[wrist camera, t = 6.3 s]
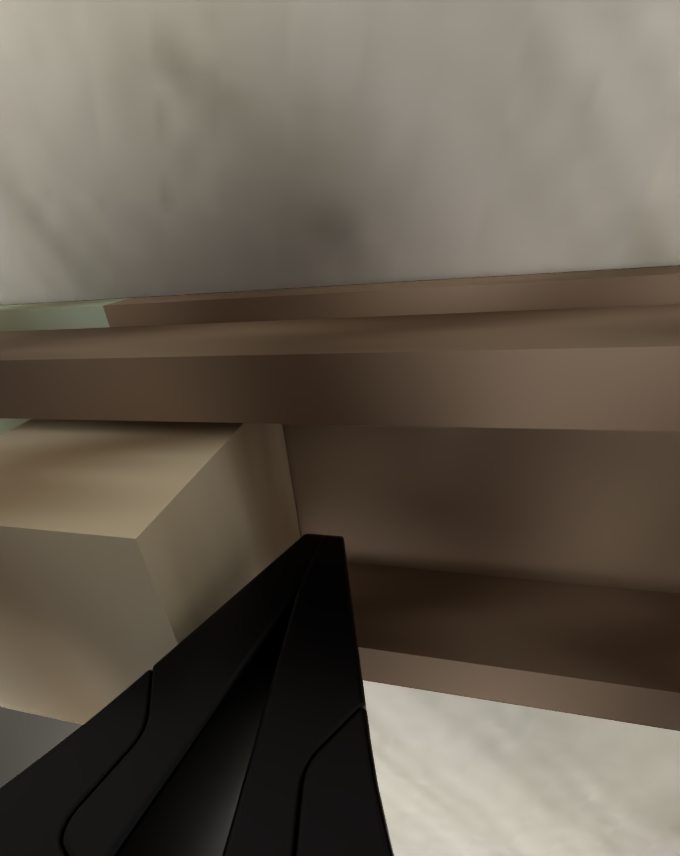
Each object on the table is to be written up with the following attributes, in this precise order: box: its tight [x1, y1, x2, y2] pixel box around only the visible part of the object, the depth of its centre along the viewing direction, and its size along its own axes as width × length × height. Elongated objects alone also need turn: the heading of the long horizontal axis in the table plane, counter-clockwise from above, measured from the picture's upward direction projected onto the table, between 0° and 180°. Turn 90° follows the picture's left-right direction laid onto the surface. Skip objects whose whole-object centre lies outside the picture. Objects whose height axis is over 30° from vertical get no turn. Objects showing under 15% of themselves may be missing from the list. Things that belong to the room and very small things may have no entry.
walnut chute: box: [0, 266, 680, 731], centre depth 8 cm, size 26×9×6 cm, turn 95°
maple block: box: [0, 419, 301, 725], centre depth 9 cm, size 5×5×5 cm
